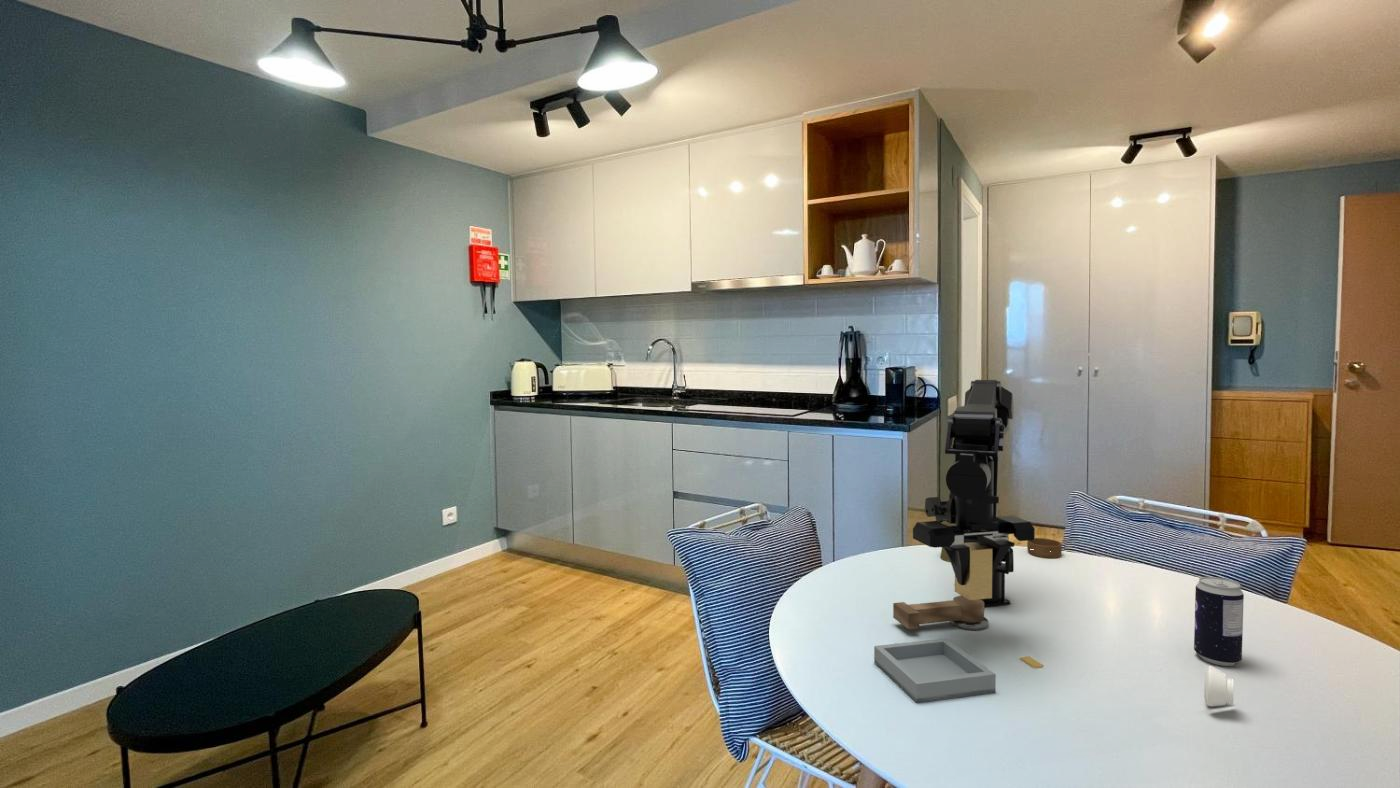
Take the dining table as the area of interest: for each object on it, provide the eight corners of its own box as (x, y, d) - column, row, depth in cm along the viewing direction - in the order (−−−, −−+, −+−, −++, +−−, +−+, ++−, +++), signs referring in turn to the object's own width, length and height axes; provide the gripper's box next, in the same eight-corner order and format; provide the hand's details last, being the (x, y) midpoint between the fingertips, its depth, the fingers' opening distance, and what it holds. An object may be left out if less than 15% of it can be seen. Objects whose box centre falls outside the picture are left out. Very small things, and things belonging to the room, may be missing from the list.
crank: (972, 610, 116) (972, 594, 116) (990, 621, 111) (990, 605, 111) (893, 618, 113) (893, 602, 113) (908, 629, 108) (908, 613, 108)
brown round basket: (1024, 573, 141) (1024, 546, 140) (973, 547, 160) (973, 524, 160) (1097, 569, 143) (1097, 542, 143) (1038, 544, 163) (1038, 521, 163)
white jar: (1204, 695, 88) (1205, 659, 88) (1232, 702, 86) (1233, 665, 86) (1203, 711, 84) (1204, 673, 84) (1232, 718, 82) (1233, 680, 82)
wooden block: (976, 589, 107) (976, 542, 107) (991, 598, 103) (992, 548, 103) (954, 591, 106) (955, 543, 106) (969, 600, 103) (970, 550, 102)
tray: (945, 654, 101) (945, 638, 101) (995, 692, 89) (995, 674, 89) (874, 662, 98) (874, 646, 98) (916, 703, 87) (916, 684, 87)
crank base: (973, 614, 117) (973, 610, 117) (1057, 665, 97) (1057, 660, 97) (941, 617, 115) (941, 613, 115) (1019, 669, 96) (1019, 665, 96)
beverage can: (1231, 654, 100) (1233, 577, 99) (1248, 670, 95) (1251, 590, 94) (1187, 649, 102) (1189, 574, 101) (1202, 665, 97) (1204, 586, 96)
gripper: (992, 477, 114) (991, 564, 115) (895, 482, 110) (895, 572, 111) (1037, 488, 103) (1036, 585, 104) (932, 494, 99) (931, 594, 100)
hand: (973, 583), depth 105 cm, fingers closed on wooden block, 4 cm apart
